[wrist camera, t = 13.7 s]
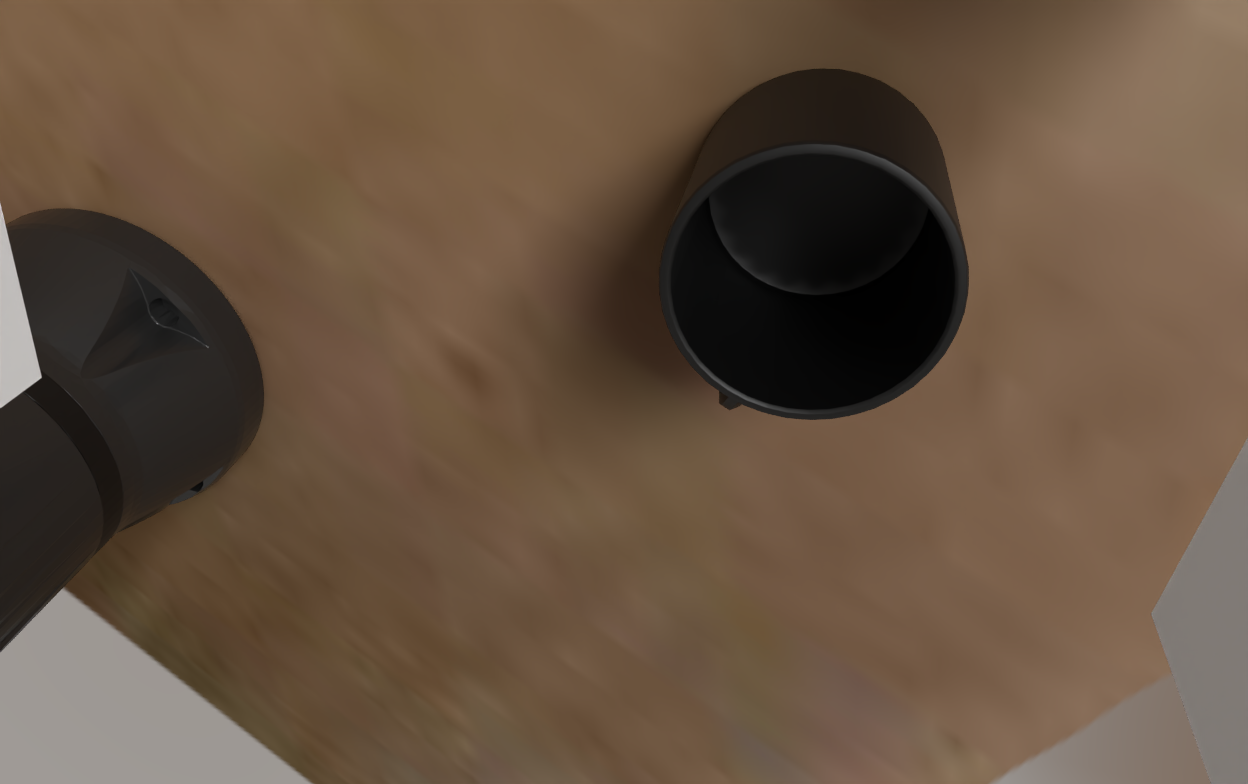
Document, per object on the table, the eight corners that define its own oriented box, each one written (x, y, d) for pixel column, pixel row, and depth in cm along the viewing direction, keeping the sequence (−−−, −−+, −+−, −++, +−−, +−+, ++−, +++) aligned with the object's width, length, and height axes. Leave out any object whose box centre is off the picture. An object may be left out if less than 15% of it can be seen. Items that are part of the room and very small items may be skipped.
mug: (635, 293, 42) (587, 407, 35) (760, 21, 36) (734, 87, 28) (837, 385, 43) (833, 517, 35) (997, 132, 36) (1035, 227, 29)
